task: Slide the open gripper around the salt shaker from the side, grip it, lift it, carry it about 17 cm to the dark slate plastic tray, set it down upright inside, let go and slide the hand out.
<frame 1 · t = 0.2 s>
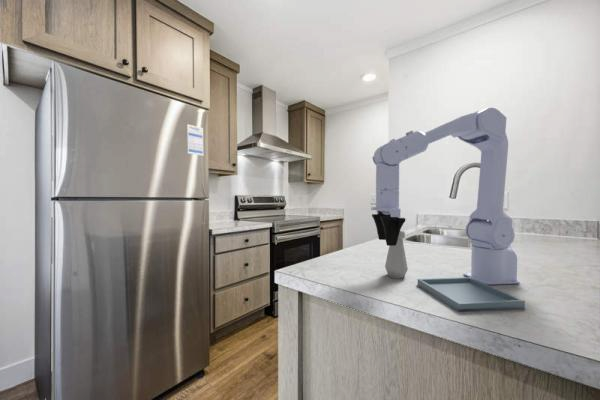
hand: (386, 242, 64), 10 cm above the counter, tool pointing down, fingers open, 7 cm apart
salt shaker: (396, 276, 68), on the counter, touching gripper
tray: (464, 295, 55), on the counter
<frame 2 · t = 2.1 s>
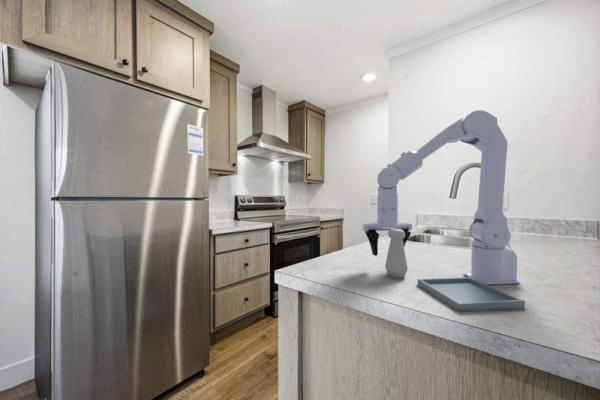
hand: (387, 254, 74), 5 cm above the counter, tool pointing down, fingers open, 7 cm apart
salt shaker: (396, 276, 68), on the counter
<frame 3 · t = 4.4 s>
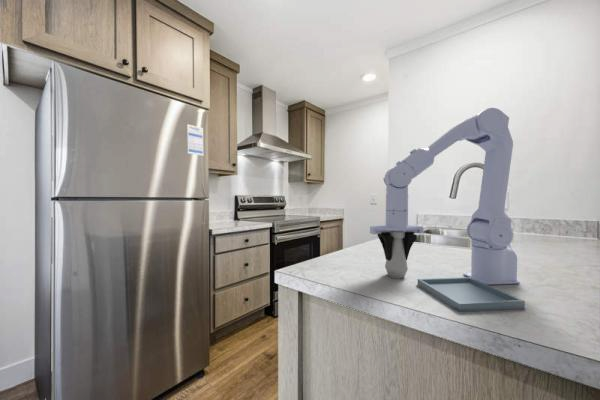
hand: (396, 259, 68), 5 cm above the counter, tool pointing down, fingers closed on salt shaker, 4 cm apart
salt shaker: (396, 276, 68), on the counter, touching gripper
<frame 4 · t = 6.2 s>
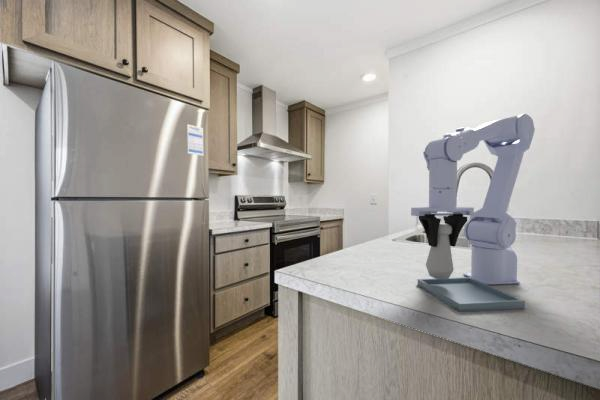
hand: (441, 245, 59), 10 cm above the counter, tool pointing down, fingers closed on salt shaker, 4 cm apart
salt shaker: (438, 277, 60), point 2 cm above the counter, touching gripper
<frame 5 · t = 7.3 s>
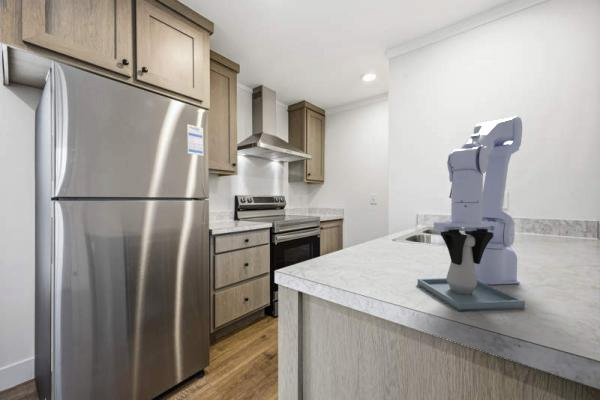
hand: (465, 263, 55), 7 cm above the counter, tool pointing down, fingers closed on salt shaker, 4 cm apart
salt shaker: (460, 292, 56), resting in tray, touching gripper
when the fingers open (7 cm above the counter, at t = 8.3 s): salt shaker stays where it is, resting on tray.
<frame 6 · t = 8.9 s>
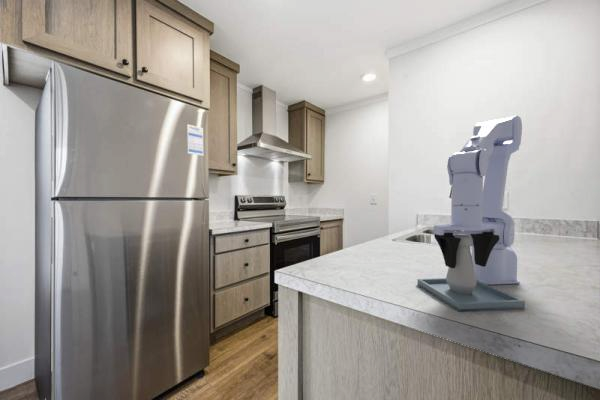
hand: (465, 266, 55), 7 cm above the counter, tool pointing down, fingers open, 7 cm apart
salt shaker: (460, 292, 56), resting on tray
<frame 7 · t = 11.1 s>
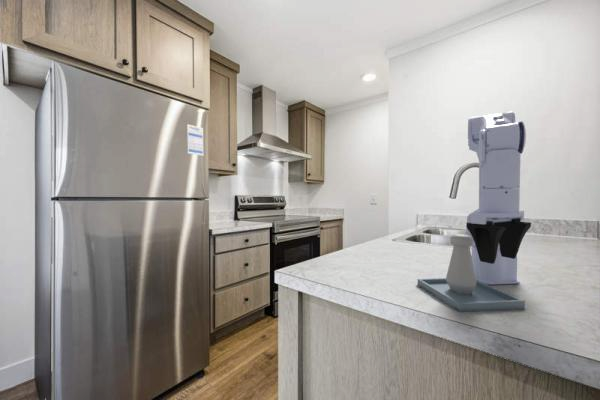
hand: (498, 259, 47), 10 cm above the counter, tool pointing down, fingers open, 7 cm apart
nothing on the counter moved.
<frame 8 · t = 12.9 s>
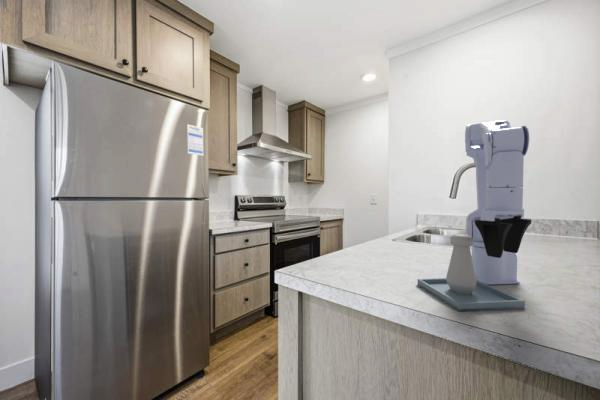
hand: (502, 254, 50), 10 cm above the counter, tool pointing down, fingers open, 7 cm apart
nothing on the counter moved.
at the end: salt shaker inside the target area on the tray (1.0 cm from its centre), point 0.3 cm above the tray's base; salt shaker tilted 0°; the gripper is holding nothing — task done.
